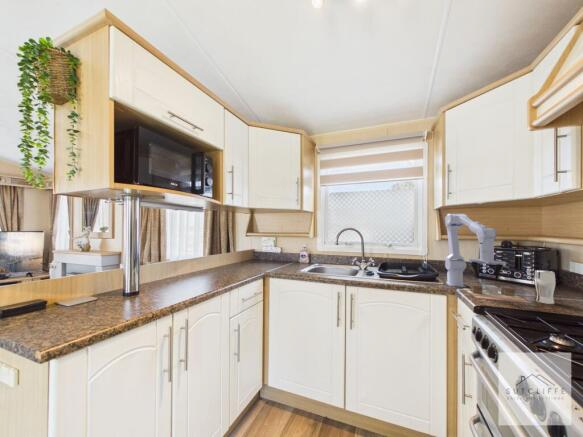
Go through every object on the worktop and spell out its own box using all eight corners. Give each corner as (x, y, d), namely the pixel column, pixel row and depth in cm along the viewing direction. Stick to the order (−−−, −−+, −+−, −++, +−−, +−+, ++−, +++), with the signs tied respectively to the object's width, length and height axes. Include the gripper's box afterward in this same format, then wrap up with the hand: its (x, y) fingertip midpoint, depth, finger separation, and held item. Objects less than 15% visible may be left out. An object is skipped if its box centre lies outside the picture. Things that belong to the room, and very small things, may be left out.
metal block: (485, 292, 131) (485, 284, 131) (494, 293, 129) (494, 285, 129) (488, 294, 127) (488, 286, 127) (498, 295, 126) (498, 287, 126)
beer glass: (537, 303, 114) (537, 271, 114) (532, 299, 120) (532, 269, 120) (558, 306, 110) (558, 273, 110) (552, 302, 116) (551, 271, 116)
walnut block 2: (501, 293, 128) (501, 286, 128) (510, 294, 127) (510, 286, 127) (505, 295, 125) (505, 287, 125) (514, 296, 123) (514, 288, 123)
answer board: (461, 288, 140) (461, 287, 140) (508, 292, 133) (508, 291, 133) (476, 298, 121) (476, 297, 121) (531, 303, 114) (531, 302, 114)
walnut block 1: (470, 290, 133) (470, 283, 133) (478, 291, 131) (478, 284, 132) (473, 292, 129) (473, 285, 129) (482, 293, 128) (482, 286, 128)
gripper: (467, 250, 126) (467, 276, 125) (504, 253, 115) (504, 281, 115) (470, 250, 130) (470, 275, 130) (506, 252, 120) (506, 279, 119)
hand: (486, 278), depth 123 cm, fingers open, 7 cm apart
